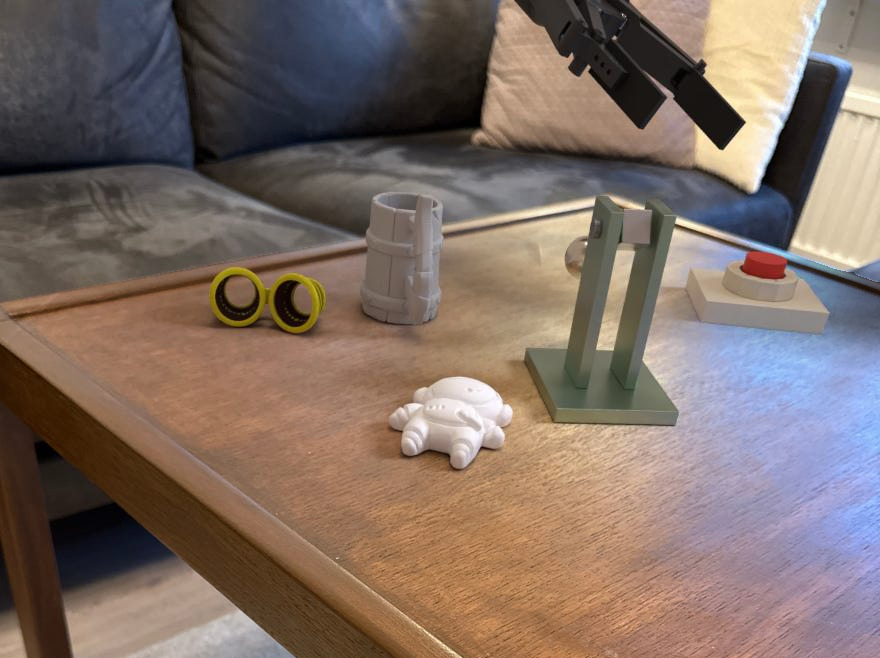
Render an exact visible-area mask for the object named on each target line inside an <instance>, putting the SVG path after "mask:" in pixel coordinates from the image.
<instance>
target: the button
mask: <svg viewBox="0 0 880 658" xmlns="http://www.w3.org/2000/svg"><path fill="white" fill-rule="evenodd" d="M744 260H745V261H744V264H743V268H742V272H744V273H746V274H748V275H751V276H754V277H758V278H763V279H773V280H777V279H782V277H783V274H784V271H785V268H787V265H788V260H787V258H785V257H784V256H782V255H779V254H777V253H773V252H767V251H756V250H755V251H749V252H747V253H746V254H745V257H744Z"/></svg>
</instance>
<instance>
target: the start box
mask: <svg viewBox="0 0 880 658" xmlns="http://www.w3.org/2000/svg"><path fill="white" fill-rule="evenodd" d="M744 261H745V259H741V260H733V261H731V262H728V264H727V265H726V267H725V270H717V269H708V268H707V269H706V268H696V267H690V268H689V273H688V276H687V279H686V284H685V287H684V288H685V291H686V293H687V295H688V297H689V300H690V302H691V303H692V306H693V308H694V310H695V312H696V315H697V317H698V319H699V321H700V322H701V323H704V324H715V325H723V326H724V325H725V326H735V327H744V328H752V329H753V328H754V329H764V330H771V331H772V330H774V331H783V332H793V333H802V334H814V335H823V333H824V330H825V327H826V324H827V322H828V318H829V315H830V311H829V310H828V309H827V308H826V307H825V305H824V303H823V302H822V301H821V300H820V298H819V297H818V296H817V294H816V293H815V292H814V291H813V288H811V287H810V285H809V284H808V282H807V281H806V280H805V279H804V278H800V277H799V276H798V275H797V274H796V272H795V271H794V270H791V269H789V268H787V267H786V268H785V271H784V274H783V277H782V279H777V280H773V279H763V278H758V277H754V276H751V275H748V274H746V273H744V272H742V268H743V264H744Z"/></svg>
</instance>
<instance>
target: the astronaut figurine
mask: <svg viewBox="0 0 880 658" xmlns="http://www.w3.org/2000/svg"><path fill="white" fill-rule="evenodd" d="M412 401H413V402H411V403H405V404H404V406H403V407H401V406H400V407H398V408H396V409H395V411H393V413H391V414H390V415H389V417H388V423H389V425H390V427H391V428H392V429H393V430H396V431H401V432H402V434H401V440H400V441H401V442H400V446H401V451H402V453H403V454H404V456H408V457H413V456H416V455H419V454H421V453H423V452H425V451H428V450H431V451H436V452H440V453H444V454H448V455H449V456H450V458H449V459H450V460H449V461H450V465H451V466H452V468H454V469H457V470H461V469H466V467H467V466H468V465H469V464H471V462H472V461H473V460H475V458H476V456H477V454H478V452H479V451H480V449H481V447H483V448H488V449H491V450H498V449H500V448H501V447H502V445H503V444H504V443H505V439H506V434H505V433H504V430H503V429H502V428H505V427H507V426H508V425H509V424H511V422H512V419H513V415H514V411H513V408H512V407H511V406H510V405H509V404H508V403H505V404H504V401H503V398H502V397H501V394H499V393H498V392H497V391H496V390H495V389H493V388H492V387H491V386H490V385H489V384H487V383H485V382H482V381H480V380H478V379H475V378H471V377H467V376H451V377H445V378H442V379H439V380H437V381H435V382H434V383H432V384H431V385H430V386H428V387H426V386H425V387H420V388H418V389H417V390H415V392H414V394H413V398H412Z"/></svg>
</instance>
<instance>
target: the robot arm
mask: <svg viewBox="0 0 880 658" xmlns="http://www.w3.org/2000/svg"><path fill="white" fill-rule="evenodd" d="M513 1H514V2H515V4H516V5H517V6H518V7H519V8H520V10H522V11H523V13H524V14H525V15H526V16H527V17H528V18H529V19H530V20H531V22H532V23H534V24H535V25H536V26H538V27H541V28H542V27H543V28H544V29H545V31H546V33H547V35H548V36H549V39H550V41H551V42H552V44H553V47H554V48H555V50H556V51H557V53H558V55H560V57H562V58H563V57H564V58H566V59H569V57H570V56H571V54H572V57H573V59H572V60H571V61H570V63H569V64H568V66H567V69H568V71H569V72H570V73H571V74H573V75H574V76H575V77H577V78H580V77H581V76H582V75H583V73H584V71H585V70H586V69H587V67H588V66H589V67H590V68H589V69H588V71H587V73H588V74H589V75H590V76H591V77H592V78H593V79H594V81H595V82H596V83H597V84H598V85H599V87H601V89H602V90H603V91H604V92H605V93H606V94H607V95H608V97H609V98H610V99H611V100H612V101H613V102H614V103H615V105H617V107H618V108H619V109H620V110H621V111H622V112H623V113H624V114H625V116H626V117H627V118H628V119H629V120H630V121H631V122H632V123H633V125H634V126H635V127H636V128H637V130H645V128H646V127H647V125H648V124H649V123H650V122H651V120H652V119H653V118H654V116H655V115H656V114H657V112H658V111H659V110H660V108H661V107H662V105H664V103H665V102H666V100H667V99H668V96H667V95H666V94H665V93H664V92H663V90H662V89H661V88H660V87H659V86H658V85H657V84H656V82H657V83H659V84H660V85H661V86H663V87H664V88H665V89H666V90H667V91H669V92H670V93H671V94H672V95H673V97H672V100H673V101H674V102H675V103H676V104H677V106H679V107H680V108H681V110H682V111H683V112H684V113H685V114H686V115H687V116H688V118H690V120H692V122H693V123H694V124H695V125H696V126H697V127H698V128H699V130H701V131H702V133H703V134H704V135H705V136H706V137H707V138H708V139H709V140H710V142H711V143H712V144H713V145H714V146H715V147H716V148H717V149H718V150H720V151H724V150H725V149H726V147H728V145H729V144H730V143H731V142H732V140H733V139H734V138H735V137H736V135H738V133H739V132H740V131H741V130H742V129H743V127H744V126H745V125H746V124H747V121H746V120H745V119H744V118H743V117H742V116H741V115H740V114H739V112H737V110H736V109H735V108H734V107H733V106H732V104H730V103H729V102H728V100H726V98H724V97H723V95H722V94H721V93H720V92H719V91H718V89H716V87H714V85H713V84H712V83H710V81H709V80H708V79H707V78H706V77H705V76H704V75H705V74H706V73H707V71H706V69H705V68H706V67H707V66H708V64H707V62H706V61H705V60H704V59H703V58H700V60H699V61H698V62H697V61H695V60H694V59H693V58H692V57H691V56H690V55H689V54H688V53H687V52H686V51H685V50H683V48H681V47H680V46H679V45H677V44H676V43H675V42H674V41H673V40H672V39H671V38H670V37H668V36H667V35H666V34H665V33H664V32H663V31H662V30H661V29H660V28H658V27H657V26H656V25H655V24H654V23H653V22H651V21H650V19H648V18H647V17H646V16H645V15H644V14H643V13H641V12H640V11H639V10H638V8H637V7H636V6H634V4H633V3H631V0H513ZM614 37H615V39H614ZM653 79H654V80H655V81H656V82H655V81H653Z"/></svg>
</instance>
